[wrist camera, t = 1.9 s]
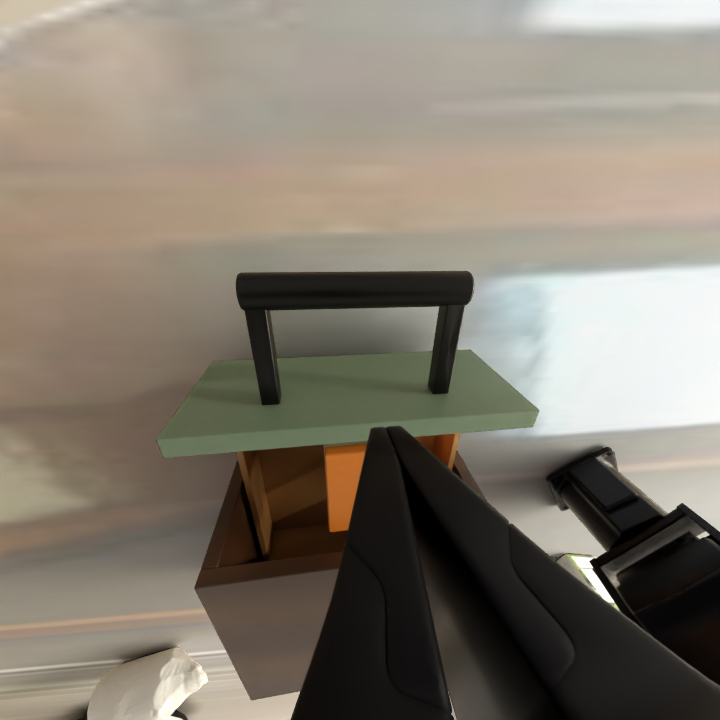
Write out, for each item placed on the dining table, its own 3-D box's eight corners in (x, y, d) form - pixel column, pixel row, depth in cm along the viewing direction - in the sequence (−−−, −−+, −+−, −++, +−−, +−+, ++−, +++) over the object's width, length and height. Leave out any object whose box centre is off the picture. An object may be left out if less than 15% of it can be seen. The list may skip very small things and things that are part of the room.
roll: (231, 644, 35) (216, 715, 30) (143, 672, 35) (114, 746, 30) (204, 626, 32) (183, 701, 27) (108, 657, 32) (70, 736, 27)
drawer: (186, 257, 14) (89, 287, 8) (490, 257, 16) (590, 280, 10) (255, 528, 24) (236, 628, 18) (435, 507, 26) (469, 591, 20)
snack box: (322, 381, 17) (323, 455, 12) (377, 378, 18) (402, 448, 12) (326, 448, 20) (328, 533, 14) (373, 444, 20) (393, 525, 15)
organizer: (241, 446, 21) (193, 588, 13) (445, 429, 23) (513, 543, 15) (270, 563, 28) (251, 700, 20) (422, 543, 30) (459, 660, 22)
